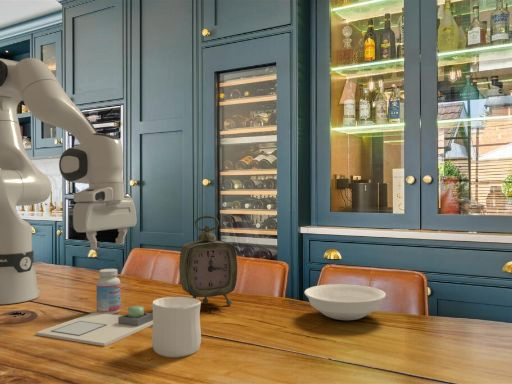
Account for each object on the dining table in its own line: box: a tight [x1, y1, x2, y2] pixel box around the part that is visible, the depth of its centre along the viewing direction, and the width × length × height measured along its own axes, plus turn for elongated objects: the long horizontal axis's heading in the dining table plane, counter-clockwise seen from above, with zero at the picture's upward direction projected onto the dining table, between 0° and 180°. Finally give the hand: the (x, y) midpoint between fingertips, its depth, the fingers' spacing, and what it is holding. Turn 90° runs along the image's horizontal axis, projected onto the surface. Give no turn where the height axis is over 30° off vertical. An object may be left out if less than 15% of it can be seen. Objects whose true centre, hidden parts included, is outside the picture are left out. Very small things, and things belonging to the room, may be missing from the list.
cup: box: [151, 296, 202, 358], centre depth 92 cm, size 10×10×10 cm
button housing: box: [118, 311, 153, 326], centre depth 110 cm, size 6×6×2 cm
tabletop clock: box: [178, 215, 238, 306], centre depth 127 cm, size 14×9×25 cm, turn 114°
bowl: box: [304, 283, 387, 321], centre depth 113 cm, size 20×20×6 cm
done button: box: [127, 305, 145, 318], centre depth 110 cm, size 4×4×2 cm
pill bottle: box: [96, 268, 122, 315], centre depth 121 cm, size 6×6×11 cm
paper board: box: [35, 311, 153, 347], centre depth 107 cm, size 20×18×1 cm
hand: (108, 246), depth 121 cm, fingers open, 8 cm apart
